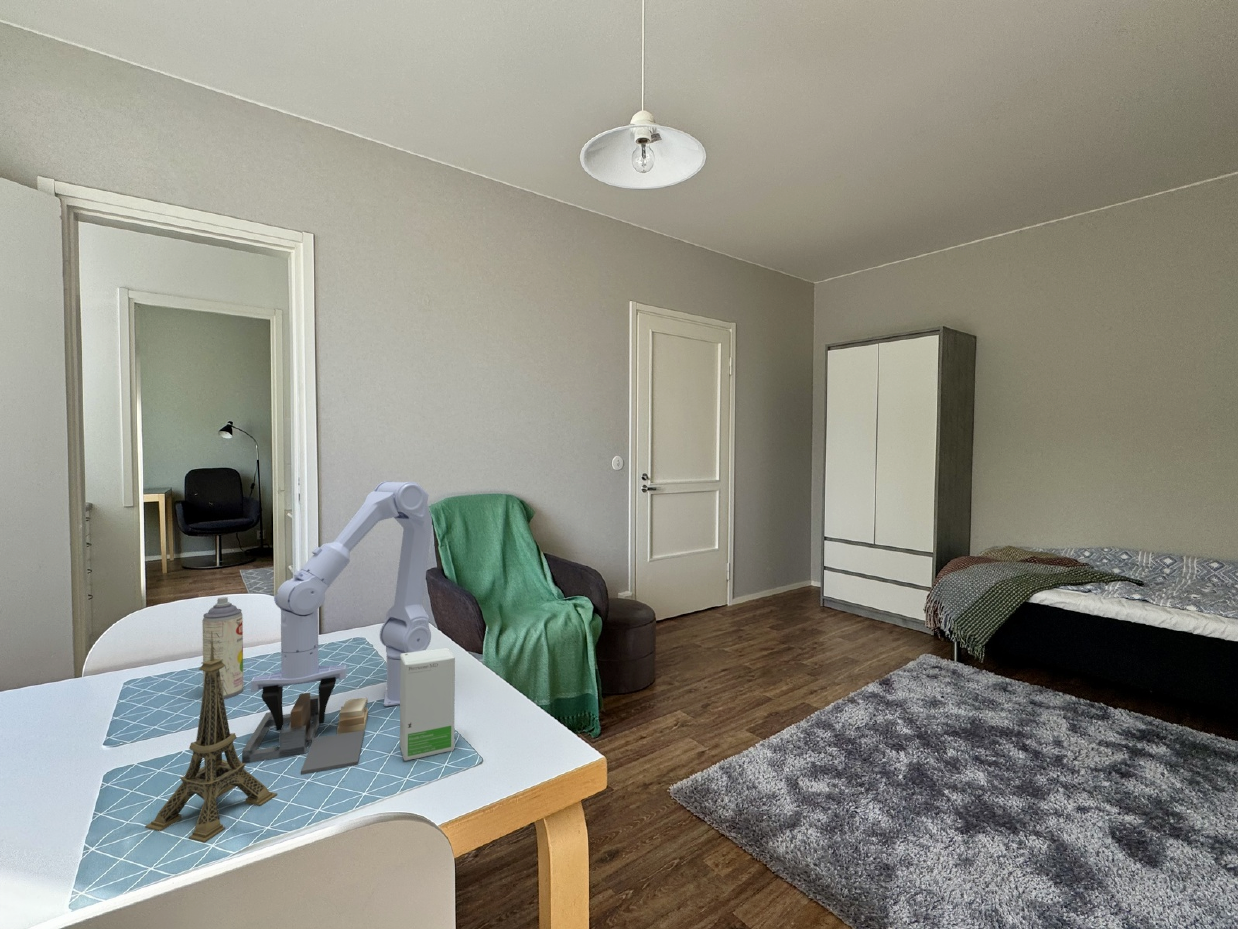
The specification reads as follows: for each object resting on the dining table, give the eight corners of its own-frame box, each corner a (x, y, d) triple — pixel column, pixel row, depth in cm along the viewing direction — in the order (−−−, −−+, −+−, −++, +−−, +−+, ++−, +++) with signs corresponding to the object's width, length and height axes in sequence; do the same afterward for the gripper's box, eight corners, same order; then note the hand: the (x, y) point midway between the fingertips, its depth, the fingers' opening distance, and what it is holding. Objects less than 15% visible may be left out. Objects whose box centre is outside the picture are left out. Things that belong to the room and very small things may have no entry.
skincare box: (403, 762, 90) (402, 665, 89) (398, 744, 95) (397, 653, 95) (456, 750, 93) (456, 656, 93) (449, 733, 99) (448, 645, 99)
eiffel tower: (222, 784, 84) (220, 618, 84) (277, 795, 81) (275, 623, 81) (145, 828, 74) (142, 639, 74) (204, 843, 71) (201, 646, 71)
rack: (322, 715, 106) (322, 694, 106) (307, 753, 93) (307, 729, 93) (266, 723, 103) (266, 702, 103) (242, 763, 90) (241, 738, 90)
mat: (364, 733, 99) (364, 730, 99) (357, 764, 89) (357, 761, 89) (313, 741, 97) (313, 738, 97) (300, 774, 86) (300, 771, 86)
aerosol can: (245, 694, 117) (244, 598, 116) (204, 703, 112) (203, 603, 112) (241, 684, 122) (240, 592, 122) (202, 692, 118) (201, 597, 117)
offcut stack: (368, 714, 107) (367, 696, 107) (364, 731, 100) (364, 712, 100) (341, 717, 106) (341, 699, 105) (336, 735, 99) (336, 716, 99)
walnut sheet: (310, 725, 103) (310, 692, 103) (301, 746, 95) (301, 711, 95) (300, 726, 102) (300, 693, 102) (290, 747, 95) (290, 712, 95)
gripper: (347, 635, 105) (348, 708, 105) (256, 646, 100) (257, 722, 100) (344, 647, 99) (345, 724, 99) (247, 659, 93) (248, 740, 93)
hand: (301, 724), depth 99 cm, fingers open, 6 cm apart
